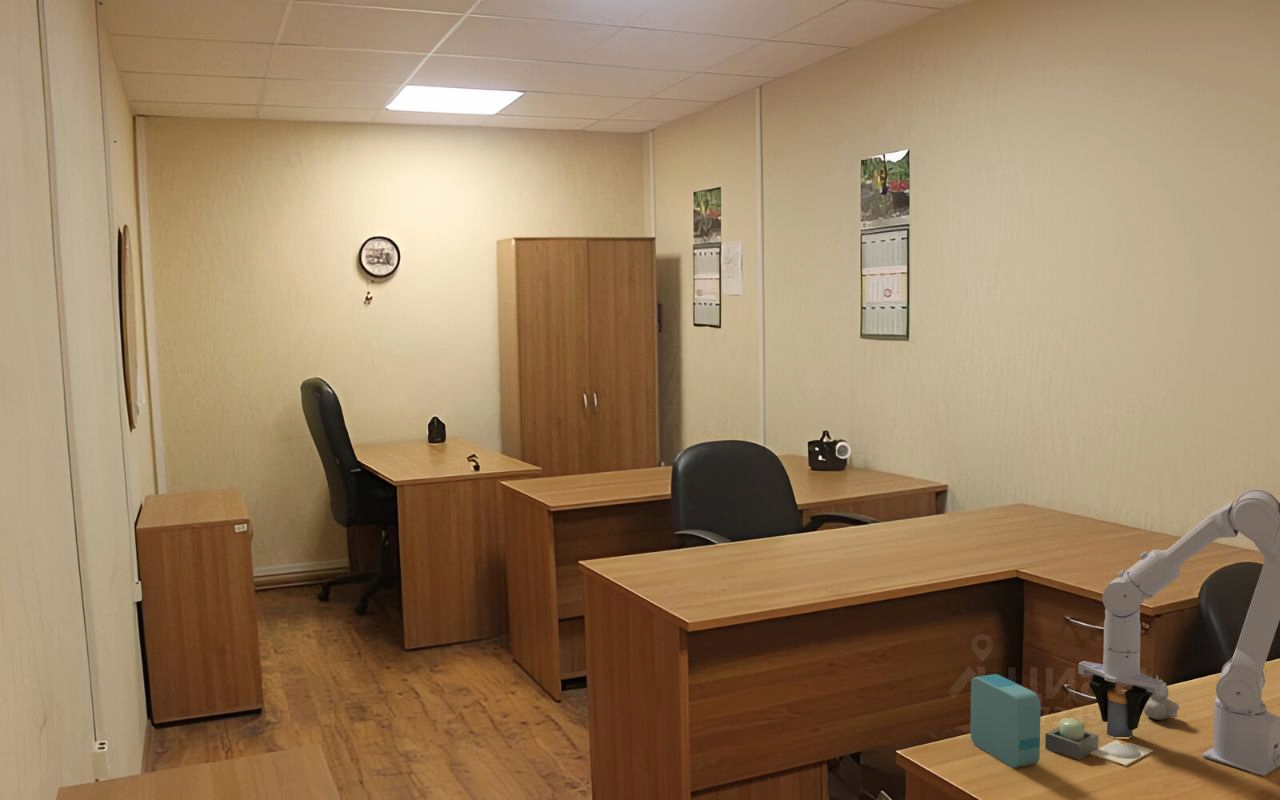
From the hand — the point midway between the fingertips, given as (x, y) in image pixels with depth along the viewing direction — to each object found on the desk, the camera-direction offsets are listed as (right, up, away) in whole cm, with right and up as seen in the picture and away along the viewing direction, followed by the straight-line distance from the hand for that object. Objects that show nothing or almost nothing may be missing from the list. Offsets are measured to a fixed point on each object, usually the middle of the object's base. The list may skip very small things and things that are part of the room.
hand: (1119, 724), depth 177 cm
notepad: (-3, -3, -7) cm, 8 cm away
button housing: (-11, -3, -6) cm, 12 cm away
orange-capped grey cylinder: (0, -2, 0) cm, 2 cm away
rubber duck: (+11, -2, +7) cm, 13 cm away
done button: (-11, -1, -6) cm, 12 cm away
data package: (-23, -3, -7) cm, 24 cm away
